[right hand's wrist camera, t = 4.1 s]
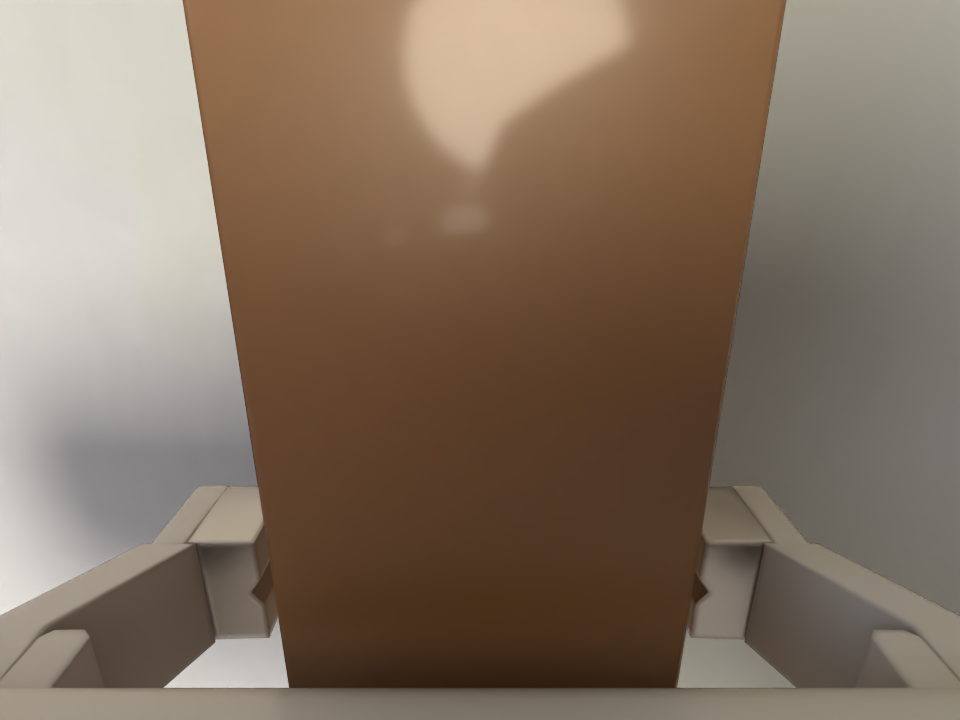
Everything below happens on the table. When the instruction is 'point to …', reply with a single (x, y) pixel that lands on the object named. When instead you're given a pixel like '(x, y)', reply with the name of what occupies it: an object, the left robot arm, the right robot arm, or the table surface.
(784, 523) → the right robot arm
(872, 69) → the table surface
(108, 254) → the table surface
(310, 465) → the beam
